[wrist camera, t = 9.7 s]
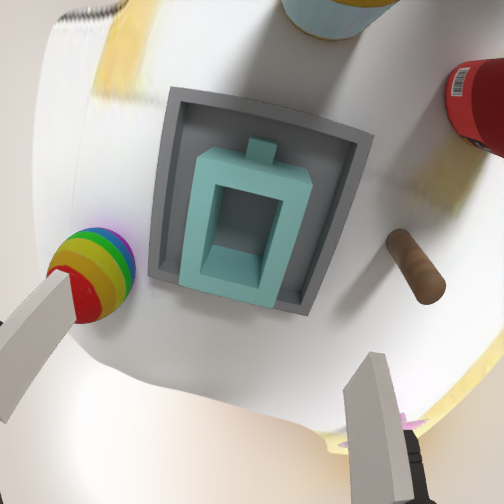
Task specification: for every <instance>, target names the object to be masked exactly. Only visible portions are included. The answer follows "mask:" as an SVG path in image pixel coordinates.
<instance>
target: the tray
mask: <svg viewBox="0 0 504 504" xmlns="http://www.w3.org/2000/svg"><path fill="white" fill-rule="evenodd" d="M252 135H253V136H257V137H261V138H265V139H269V140H273V141H277V142H278V143H277V148H276V152H275V156H274V159H273V160H276V161H280V162H284V163H287V164H291V165H295V166H299V167H302V168H306V169H307V170H308V173H309V176H310V178H311V181H312V184H313V187H312V190H311V193H310V196H309V200H308V203H307V206H306V209H305V213H304V216H303V219H302V222H301V225H300V228H299V231H298V235H297V238H296V241H295V244H294V247H293V250H292V253H291V256H290V259H289V262H288V265H287V268H286V271H285V274H284V277H283V280H282V283H281V286H280V289H279V292H278V295H277V298H276V301H275V304H274V307H273V309H277V310H282V311H286V312H291V313H295V314H300V315H304V316H308V314H309V312H310V310H311V307H312V305H313V303H314V300H315V298H316V296H317V293H318V291H319V288H320V286H321V284H322V281H323V279H324V276H325V274H326V271H327V269H328V266H329V264H330V261H331V259H332V256H333V254H334V251H335V248H336V246H337V243H338V241H339V238H340V235H341V233H342V230H343V227H344V225H345V222H346V219H347V216H348V214H349V211H350V208H351V205H352V202H353V199H354V197H355V194H356V191H357V188H358V185H359V182H360V179H361V176H362V173H363V170H364V167H365V164H366V161H367V157H368V154H369V151H370V148H371V145H372V141H373V138H374V135H372V134H369V133H367V132H364V131H361V130H358V129H355V128H353V127H350V126H347V125H344V124H340V123H337V122H334V121H331V120H328V119H325V118H321V117H318V116H314V115H311V114H307V113H304V112H300V111H297V110H293V109H289V108H285V107H281V106H277V105H273V104H269V103H264V102H260V101H255V100H251V99H246V98H241V97H236V96H231V95H226V94H220V93H214V92H208V91H202V90H195V89H188V88H180V87H170V92H169V97H168V102H167V107H166V113H165V119H164V124H163V130H162V137H161V143H160V150H159V157H158V164H157V172H156V180H155V188H154V197H153V207H152V218H151V230H150V243H149V259H148V276H149V277H153V278H156V279H160V280H163V281H167V282H171V283H174V284H178V285H179V276H180V267H181V259H182V251H183V244H184V236H185V229H186V222H187V215H188V209H189V202H190V196H191V190H192V184H193V178H194V172H195V166H196V160H197V157H198V156H200V155H201V154H203V153H204V152H206V151H207V150H209V149H210V148H212V147H213V146H215V147H220V148H225V149H230V150H234V151H239V152H243V153H246V151H247V147H248V143H249V138H250V137H251V136H252ZM278 201H279V200H278V199H274V198H271V197H267V196H263V195H259V194H255V193H251V192H246V191H242V190H238V189H234V188H230V187H224V192H223V197H222V202H221V207H220V212H219V217H218V222H217V227H216V233H215V238H214V243H213V245H217V246H221V247H225V248H229V249H233V250H237V251H241V252H245V253H249V254H253V255H257V256H261V257H263V255H264V251H265V248H266V244H267V241H268V237H269V233H270V230H271V226H272V223H273V219H274V215H275V212H276V208H277V205H278Z"/></svg>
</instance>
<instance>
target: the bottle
mask: <svg viewBox="0 0 504 504" xmlns="http://www.w3.org/2000/svg"><path fill="white" fill-rule="evenodd" d="M398 1H400V0H282V5H283V8H284V10H285V13H286V15H287V17H288V18H289V19H290V20H291V22H292V23H293V24H294V25H295V26H296V27H297V28H299V29H300V30H302V31H303V32H304V33H306V34H308V35H311V36H313V37H316V38H319V39H324V40H331V41H336V40H344V39H349V38H351V37H353V36H355V35H357V34H359V33H360V32H362V31H363V30H364V29H365V28H367V27H368V26H369V25H370V24H371V23H372V22H374V21H375V20H376V19H377V18H378V17H380V16H381V15H382V14H383V13H385V12H386V11H387V10H388V9H389V8H391V7H392V6H393V5H394V4H396V3H397V2H398Z"/></svg>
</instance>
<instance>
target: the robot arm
mask: <svg viewBox="0 0 504 504" xmlns="http://www.w3.org/2000/svg"><path fill="white" fill-rule="evenodd" d="M75 321H76V314H75V309H74V304H73V298H72V292H71V285H70V278H69V274H68V273H65V272H63V271H60V270H57V269H56V270H54V271H53V272H52V273H51V274H50V275H49V276H48V277H47V278H46V279H45V280H44V281H43V282H42V283H41V284H40V285H39V286H38V287H37V288H36V289H35V290H34V291H33V292H32V293H31V294H30V295H29V296H28V297H27V298H26V299H25V300H24V301H23V302H22V304H21V305H20V306H19V307H18V308H17V309H16V310H15V311H14V312H13V313H12V314H11V315H10V317H9V318H8V319H7V320H6V321H5V322H4V323H3V322H1V321H0V421H2V422H3V423H5V424H6V423H7V421H8V419H9V418H10V416H11V414H12V413H13V411H14V410H15V408H16V406H17V405H18V403H19V401H20V400H21V398H22V397H23V395H24V394H25V392H26V390H27V389H28V387H29V386H30V384H31V383H32V381H33V380H34V378H35V376H36V375H37V374H38V372H39V371H40V370H41V368H42V367H43V365H44V364H45V362H46V361H47V359H48V358H49V357H50V355H51V354H52V352H53V351H54V350H55V348H56V347H57V345H58V344H59V343H60V341H61V340H62V339H63V337H64V336H65V334H66V333H67V332H68V330H69V329H70V328H71V326H72V325H73V324H74V323H75ZM343 395H344V404H345V414H346V425H347V437H348V450H349V464H350V482H351V483H350V484H351V504H436V503H435V502H434V501H432V500H430V498H429V496H428V491H427V485H426V478H425V473H424V467H423V463H422V457H421V454H420V447H419V442H418V439H417V437H416V436H415V434H414V432H413V431H412V430H403V428H402V423H401V418H400V414H399V409H398V405H397V400H396V396H395V392H394V388H393V384H392V380H391V376H390V372H389V368H388V364H387V361H386V357H385V354H381V353H374V352H369V353H368V355H367V356H366V358H365V359H364V361H363V362H362V364H361V365H360V367H359V368H358V370H357V371H356V372H355V374H354V375H353V377H352V378H351V379H350V381H349V382H348V384H347V385H346V386H345V388H344V389H343ZM0 504H3V501H2V497H1V494H0Z"/></svg>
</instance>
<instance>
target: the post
mask: <svg viewBox="0 0 504 504" xmlns="http://www.w3.org/2000/svg"><path fill="white" fill-rule="evenodd" d="M386 246H387V248H388V250H389V252H390V253H391V255H392V257H393V258H394V260H395V262H396V263H397V265H398V267H399V269H400V270H401V272H402V274H403V275H404V277H405V279H406V281H407V282H408V284H409V286H410V288H411V290H412V291H413V293H414V295H415V297H416V299H417V301H418V302H419V303H421V304H423V305H429V304H433V303H435V302H436V301H438V300H439V299H440V298H441V297H442V296H443V294H444V292H445V289H446V282H445V280H444V279H443V277H442V276H441V274H440V273H439V272H438V270H437V269H436V268H435V266H434V265H433V264H432V262H431V261H430V260H429V258H428V257H427V256H426V254H425V253H424V252H423V251H422V249H421V248H420V247H419V245H418V244H417V243H416V242H415V240H414V239H413V238H412V237H411V235H410V234H409V233H408V232H407V231H406V230H403V229H397V230H395V231H393V232H392V233H390V235H389V236H388V238H387V241H386Z"/></svg>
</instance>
